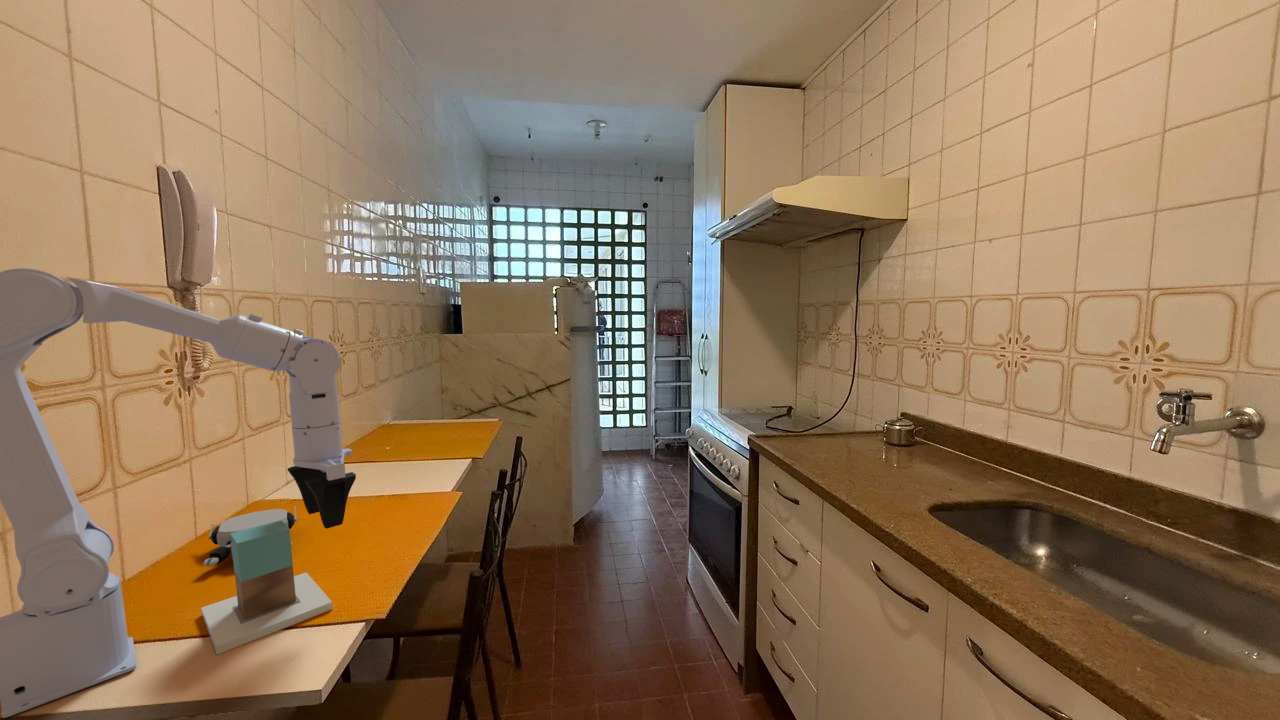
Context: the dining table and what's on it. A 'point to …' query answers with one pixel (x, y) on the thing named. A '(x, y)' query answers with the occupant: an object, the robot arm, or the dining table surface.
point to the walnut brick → (265, 592)
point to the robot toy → (240, 523)
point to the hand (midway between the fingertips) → (324, 518)
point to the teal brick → (261, 550)
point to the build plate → (262, 616)
